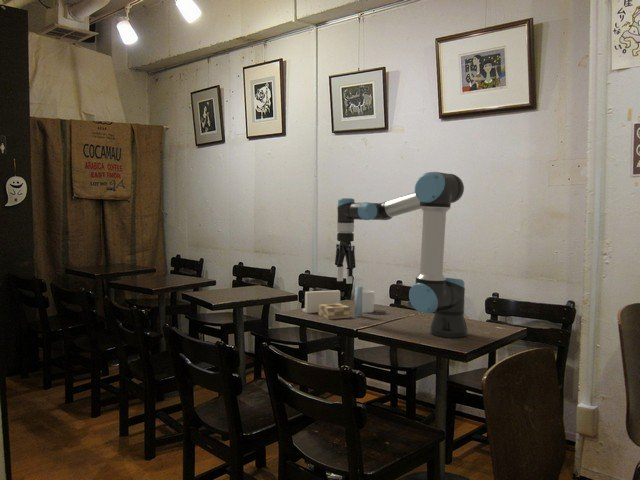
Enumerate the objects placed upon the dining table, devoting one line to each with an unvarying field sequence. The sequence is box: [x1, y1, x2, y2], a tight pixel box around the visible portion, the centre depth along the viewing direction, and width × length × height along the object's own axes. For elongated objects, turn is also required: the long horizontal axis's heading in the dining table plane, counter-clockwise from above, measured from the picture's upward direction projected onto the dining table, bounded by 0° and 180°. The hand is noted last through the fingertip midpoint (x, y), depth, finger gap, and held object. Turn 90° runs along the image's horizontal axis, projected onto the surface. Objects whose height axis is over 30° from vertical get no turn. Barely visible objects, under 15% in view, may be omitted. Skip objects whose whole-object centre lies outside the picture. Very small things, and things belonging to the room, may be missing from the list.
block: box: [318, 302, 351, 320], centre depth 250 cm, size 11×11×5 cm
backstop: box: [302, 289, 341, 314], centre depth 263 cm, size 5×18×10 cm, turn 114°
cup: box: [362, 289, 375, 314], centre depth 266 cm, size 8×12×10 cm
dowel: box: [354, 285, 364, 318], centre depth 251 cm, size 3×3×14 cm
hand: (344, 282), depth 240 cm, fingers open, 9 cm apart
